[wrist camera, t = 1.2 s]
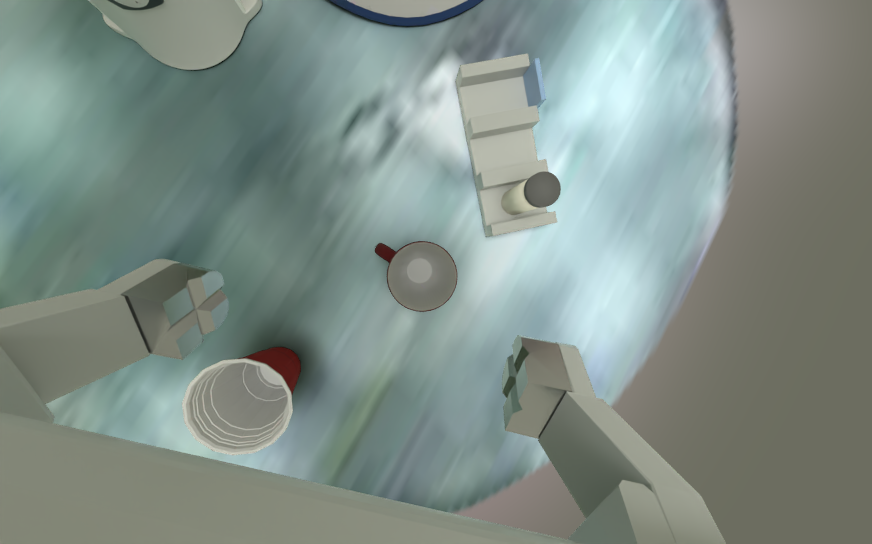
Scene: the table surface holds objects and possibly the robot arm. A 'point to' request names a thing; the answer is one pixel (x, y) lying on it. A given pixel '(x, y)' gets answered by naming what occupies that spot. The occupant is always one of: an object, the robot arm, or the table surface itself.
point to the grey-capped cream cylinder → (532, 194)
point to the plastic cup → (242, 401)
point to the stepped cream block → (503, 135)
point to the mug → (419, 274)
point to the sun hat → (407, 10)
